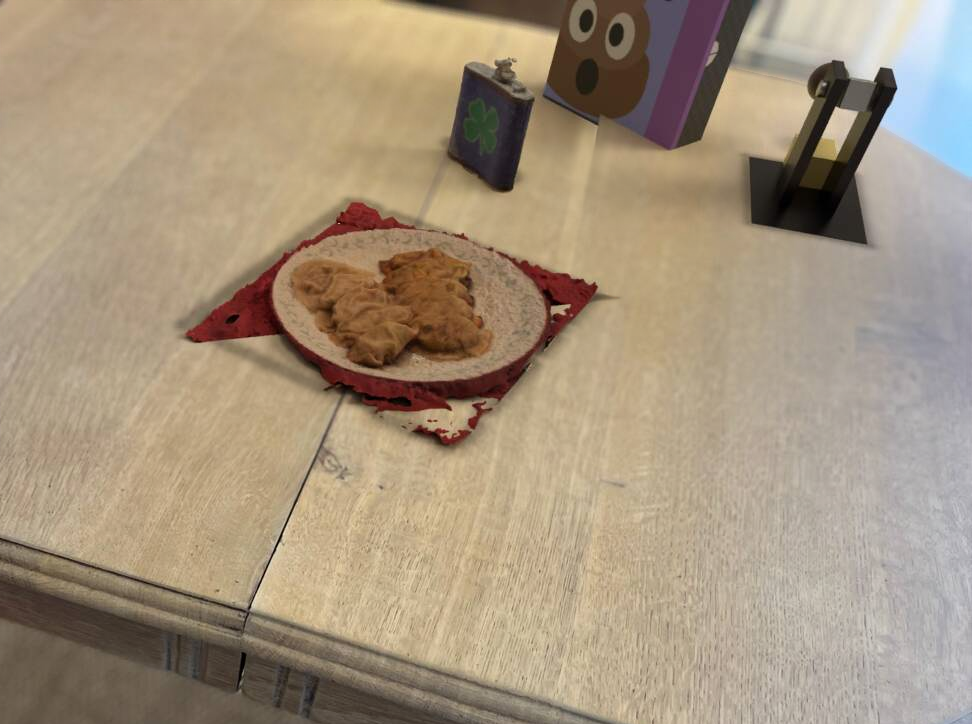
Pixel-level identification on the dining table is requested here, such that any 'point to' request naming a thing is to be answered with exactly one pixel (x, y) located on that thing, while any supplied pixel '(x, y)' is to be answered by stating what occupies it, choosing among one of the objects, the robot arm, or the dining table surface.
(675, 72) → the cereal box
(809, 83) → the slicer arm
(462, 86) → the flask
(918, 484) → the dining table surface
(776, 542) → the dining table surface
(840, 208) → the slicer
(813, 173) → the butter
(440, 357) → the plate with food
